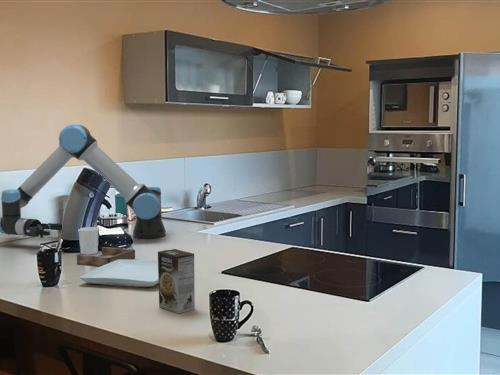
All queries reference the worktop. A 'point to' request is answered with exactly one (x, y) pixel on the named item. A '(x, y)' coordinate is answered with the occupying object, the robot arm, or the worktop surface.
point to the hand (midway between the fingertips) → (68, 231)
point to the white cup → (88, 240)
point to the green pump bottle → (120, 205)
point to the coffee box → (176, 280)
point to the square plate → (125, 273)
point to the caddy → (106, 256)
